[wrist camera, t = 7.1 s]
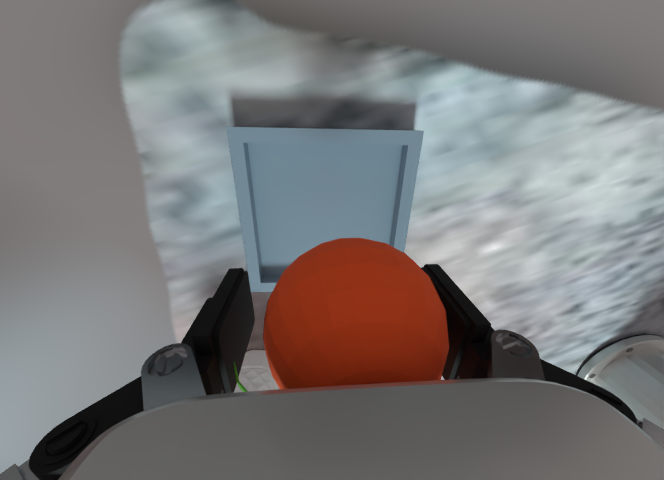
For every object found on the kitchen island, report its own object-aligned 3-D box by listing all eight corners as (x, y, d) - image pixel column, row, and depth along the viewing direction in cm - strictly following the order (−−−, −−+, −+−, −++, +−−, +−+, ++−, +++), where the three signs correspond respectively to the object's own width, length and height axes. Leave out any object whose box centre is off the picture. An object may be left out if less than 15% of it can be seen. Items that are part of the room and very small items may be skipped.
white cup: (211, 364, 29) (166, 471, 20) (263, 335, 28) (238, 435, 19) (255, 397, 32) (233, 502, 23) (304, 371, 31) (300, 473, 22)
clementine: (273, 336, 14) (241, 507, 8) (238, 227, 11) (142, 361, 5) (408, 315, 14) (484, 468, 8) (409, 202, 11) (530, 302, 5)
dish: (413, 130, 20) (423, 130, 18) (392, 276, 26) (398, 288, 24) (234, 126, 19) (226, 126, 17) (255, 279, 25) (250, 292, 23)
